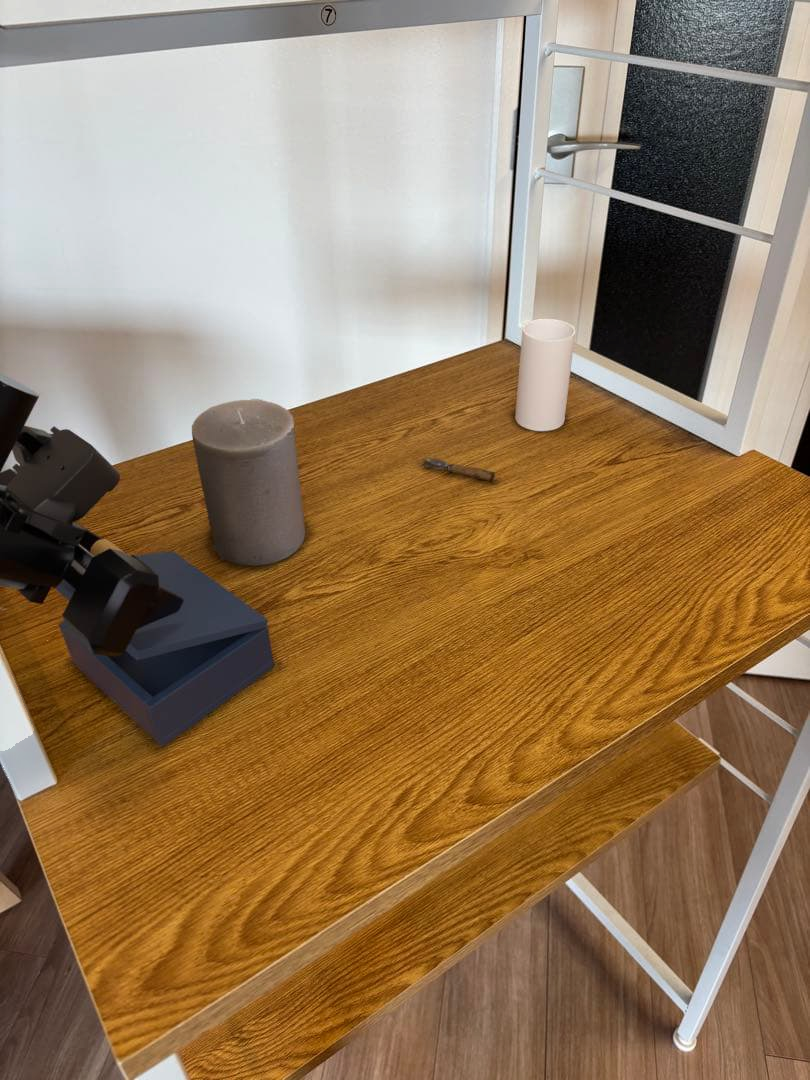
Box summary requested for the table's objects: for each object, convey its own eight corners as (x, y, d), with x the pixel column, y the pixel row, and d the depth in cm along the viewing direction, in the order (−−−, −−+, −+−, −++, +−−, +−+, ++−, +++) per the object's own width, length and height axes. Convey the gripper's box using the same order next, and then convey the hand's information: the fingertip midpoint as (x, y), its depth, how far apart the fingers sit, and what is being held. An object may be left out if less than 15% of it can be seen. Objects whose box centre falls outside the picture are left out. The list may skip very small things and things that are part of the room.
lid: (136, 660, 60) (148, 597, 58) (41, 577, 67) (49, 518, 65) (266, 627, 69) (279, 572, 67) (171, 558, 76) (181, 506, 75)
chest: (162, 747, 66) (150, 708, 63) (72, 662, 73) (58, 623, 70) (274, 666, 72) (268, 627, 69) (182, 596, 80) (173, 558, 77)
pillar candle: (204, 567, 83) (176, 438, 74) (222, 509, 90) (200, 386, 81) (301, 567, 83) (285, 438, 73) (311, 509, 90) (299, 385, 81)
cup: (505, 420, 105) (512, 331, 97) (532, 401, 108) (540, 314, 101) (547, 436, 101) (557, 345, 94) (573, 416, 105) (585, 327, 98)
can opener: (495, 478, 94) (495, 470, 93) (486, 489, 93) (487, 480, 92) (425, 458, 98) (425, 450, 97) (416, 468, 96) (416, 459, 95)
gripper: (97, 476, 48) (268, 538, 61) (-45, 374, 58) (129, 446, 71) (8, 646, 48) (198, 671, 61) (-116, 515, 58) (69, 561, 71)
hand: (146, 578), depth 66 cm, fingers open, 9 cm apart
